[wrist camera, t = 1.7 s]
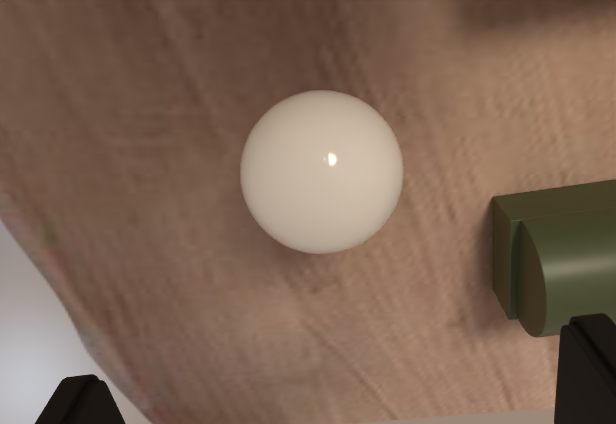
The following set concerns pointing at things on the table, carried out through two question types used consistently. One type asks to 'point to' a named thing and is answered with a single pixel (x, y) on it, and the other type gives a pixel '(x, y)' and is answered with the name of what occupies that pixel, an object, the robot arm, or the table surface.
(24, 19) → the table surface
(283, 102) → the lightbulb
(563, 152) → the table surface
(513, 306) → the olive bag
